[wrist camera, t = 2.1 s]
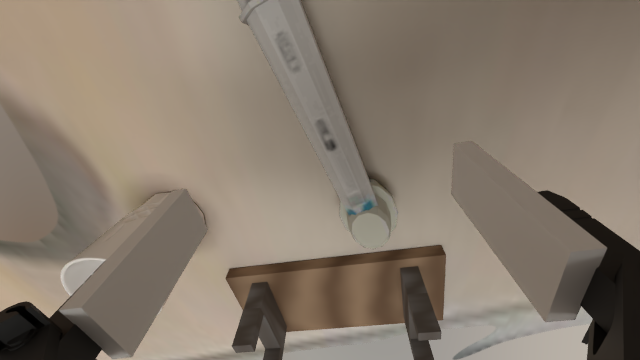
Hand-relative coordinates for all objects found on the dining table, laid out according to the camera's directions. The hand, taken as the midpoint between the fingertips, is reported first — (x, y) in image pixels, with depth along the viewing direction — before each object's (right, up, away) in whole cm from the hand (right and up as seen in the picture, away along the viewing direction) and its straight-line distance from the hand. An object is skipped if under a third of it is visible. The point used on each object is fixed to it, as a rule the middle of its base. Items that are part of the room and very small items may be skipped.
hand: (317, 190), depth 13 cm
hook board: (+3, -14, +22) cm, 26 cm away
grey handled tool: (+1, +6, +11) cm, 13 cm away
